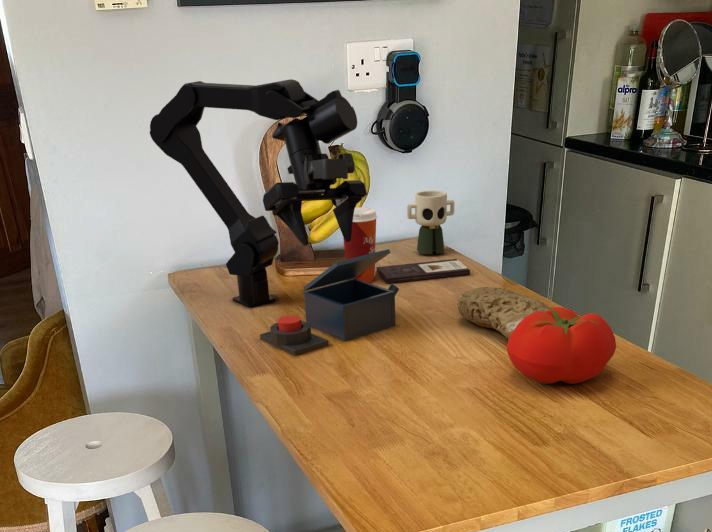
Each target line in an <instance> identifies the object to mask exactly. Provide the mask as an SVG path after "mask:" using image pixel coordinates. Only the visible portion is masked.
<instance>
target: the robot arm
mask: <svg viewBox="0 0 712 532" xmlns="http://www.w3.org/2000/svg"><path fill="white" fill-rule="evenodd" d="M206 108H209V109H224V110H225V109H226V110H240V111H241V110H242V111H248V112H252V113H254V114H256V115H258V116H260V117H262V118H263V117H264V118H267V119H269V120H274V121H279V120H284V119H288V118H290V119H291V120H289V121H288V122H286V123H282V122H278V123H277V126H276V127H275V129H274V130H273V132H272V135H271V136H272V138H273V139H274V140H279V141H282V142H284V144H285V147H286V152H287V155H288V160H289V163H290V165H289V166H288V167H287V173H288V175H292V176H293V178H294V182H293V181H289V182H288V181H286V182H285V181H284V182H276V183H274V184H273V186H271V187H270V188H269V189H268V190H266V191H265V192H264V194H263V196H262V203H263V208H264V211H266V212H271V213H272V215H273V216H277V217H278V218H279V219H280V221H282V222H283V223H284V224H285V225H286V226H287V227H288V229H289V230H290V231H291V232H292V234H294V236H295V237H296V238H297V239H298V241H299V242H300V243H301V244H302V246H303V247H307V246H308V245H309V237H308V232H307V228H306V225H305V221H304V216H303V213H302V207H303V205H302V204H303V202H311V201H315V202H316V201H331V204H332V205H333V206H334V208H333V209H332V212H333V214H334V218H335V220H336V222H337V225H338V228H339V229H340V232H341V235H342V238H343V237H344V239H345V241H346V242H350V241H351V236H352V223H353V215H354V209H355V208H357V205H358V204H359V203H360V202H361V201H362V200H363V198H364V197H366V196H367V195H368V192H367V188H366V185H365V183H364V182H363V181H362V180H360V179H356V180H355V179H353V180H352V179H351V180H348V179H349V174H354V172H355V170H356V167H355V166H356V165H355V160H354V157H353V154H352V153H351V152H349V153H345V152H343V153H339V154H338V155H337V158H329V155H328V154H327V153H322V149H321V145H320V141H321V142H322V143H324V144H326V145H329V144H331V143H333V142H335V141H336V140H338V139H340V138H343V137H344V136H346V135H347V134H349V133H351V132H353V131H355V130H356V129H357V127H358V117H357V113H356V111H355V107H354V106H352V104H351V103H350V101H348V99H346V98H345V97H344V96H343V95H342V93H341V90H340V89H335V90H332V91H330V92H328V93H327V94H326V95H325V96H324V97H323V98H321V99H319V100H318V99H317V98H316V97H314V96H313V95H311V94H310V93H308V92H306V90H305V89H304V88H303V86H302V85H301V83H300V81H298V80H296V79H291V78H290V79H285V80H279V81H273V82H269V83H268V82H267V83H263V84H256V85H254V84H253V85H252V84H234V83H216V82H215V83H214V82H204V81H201V80H197V81H192V82H186V83H184V84H182V86H181V87H180V88H179V90H178V91H177V92H176V94H175V96H174V97H173V98H172V99H170V100H169V101H168V102H167V103H166V104H165V105H164V106H163V107H162V108H161V110H160V111H159V113H157V114H155V115H154V116H153V117H152V118H151V120H150V123H149V136H150V138H151V140H152V142H153V143H154V144H155V145H156V146H157V147H158V148H159V149H160V150H161V151H162V152H163V153H164V154H165V155H166V156H167V157H169V158H170V159H172V160H174V161H176V162H177V163H179V164H180V165H181V166H182V167H183V168H184V170H185V172H186V173H187V175H189V177H190V178H191V180H192V181H193V182H194V184H195V185H196V186H197V188H198V189H199V190H200V192H201V193H202V195H203V196H204V197H205V199H206V201H207V202H208V203H209V204H210V206H211V207H212V209H213V210H214V211H215V213H216V214H217V216H218V217H219V218H220V220H221V221H222V222H223V224H224V225H225V227H226V228H227V231H228V236H229V242H230V246H231V248H232V250H233V251H234V253H233V255H231V257H230V258H229V259H228V260H227V261H226V263H225V266H226V269H227V271H228V274H229V275H230V276H236V279H237V280H236V281H237V288H238V295H237V296H234V297H232V301H233V302H236V303H238V304H240V305H242V306H244V307H247V308H252V307H255V306H259V305H263V304H267V303H270V302H271V303H272V302H275V301H276V300H277V298H276V297H275V296H273V295H271V294H270V291H269V290H270V289H269V280H268V272H267V269H266V268H267V267H269V266H270V267H271V266H273V262H274V259H275V256H276V255H278V251H279V244H280V243H279V239H278V237H277V235H276V234H277V230H275V229H273V228H272V227H271V225H270V223H269V221H268V219H267V218H266V217H265V216H264V215H260V216H258V217H255V216H253V215H251V214H250V213H249V211H247V209H246V208H245V206H244V205H243V203H242V202H241V201H240V199H239V198H238V196H237V195H236V194H235V192H234V191H233V189H232V188H231V186H230V185H229V183H228V182H227V181H226V180H225V178H224V177H223V176H222V174H221V172H220V171H219V170H218V168H217V167H216V166H215V164H214V163H213V162H212V159H210V157H209V155H208V154H207V153H206V152H205V150H204V148H203V142H202V138H201V137H202V136H201V133H200V130H199V129H198V124H199V123H200V121H201V120H202V118H203V114H204V111H205V109H206ZM304 116H305V117H304ZM300 117H303V118H301V119H300ZM337 179H342V180H344V181H342V182H341V183H340V184H339V185H337V186H336V187H331V186H333V185H336V183H337V182H338V180H337ZM344 239H343V240H344Z"/></svg>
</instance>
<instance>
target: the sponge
mask: <svg viewBox="0 0 712 532" xmlns="http://www.w3.org/2000/svg"><path fill="white" fill-rule="evenodd" d="M456 305H457V306H456V308H457V311H458V313H459V315H460V316H461V317H463V318H464V319H465V320H467V321H469V322H470V323H473V324H476V325H477V326H479V327H482V328H487V329H491V330H496V331H497V332H499V333H501V335H503V336H504V337H505V338H506V339H507V341H508V340H509V337H510V336H511V334H512V332H513V331H514V329H515V328H516V326H517V325H518V324H519V323H520V322H521V321H522V320H523V319H524V318H525V317H526V316H528V315H530V314H531V313H533V312H540V311H543V312H546V311H547V310H549V309H550V308H551V307H550V306H549V305H548V304H547V303H545V302H543V301H541V300H539V299H538V298H535V297H533V296H529V295H526V294H523V293H521V292H520V293H519V292H517V291H515V290H512V289H507V288H503V287H495V286H481V287H476V288H473V289H472V290H468V291H466V292H463V293H462V294H461V295H460V296H459V298H458V300H457V304H456Z"/></svg>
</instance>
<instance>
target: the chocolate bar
mask: <svg viewBox="0 0 712 532" xmlns="http://www.w3.org/2000/svg"><path fill="white" fill-rule="evenodd" d="M375 268H376V273H377V274H378V275H379V277H381V279H382V280H383V281H384V282H385V283H386V284H394V283H402V282H403V283H404V282H411V281H420V280H421V281H423V280H430V279H441V278H449V277H457V276H459V277H460V276H467V275H471V270H470V269H469V267H467V266H466V265H464V264H463V263H462V262H461V261H460V260H458V259H457V258H450V259H441V260H432V261H423V262H422V261H421V262H413V263H404V264H403V263H402V264H392V265H383V266H375Z"/></svg>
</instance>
